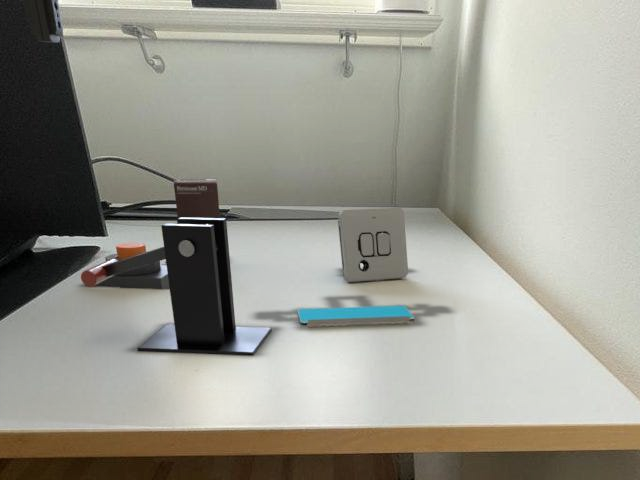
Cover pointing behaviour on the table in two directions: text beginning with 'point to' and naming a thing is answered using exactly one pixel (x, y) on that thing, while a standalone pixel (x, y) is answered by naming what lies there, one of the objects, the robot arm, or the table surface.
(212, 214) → the box
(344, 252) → the electrical switch
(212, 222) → the bracket
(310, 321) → the blue book
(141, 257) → the lever
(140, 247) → the button
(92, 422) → the table surface
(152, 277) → the button box
